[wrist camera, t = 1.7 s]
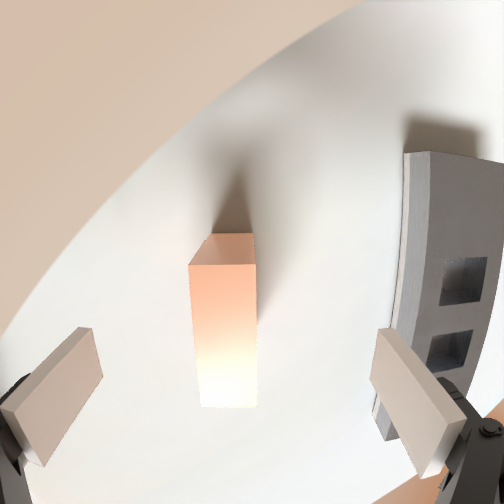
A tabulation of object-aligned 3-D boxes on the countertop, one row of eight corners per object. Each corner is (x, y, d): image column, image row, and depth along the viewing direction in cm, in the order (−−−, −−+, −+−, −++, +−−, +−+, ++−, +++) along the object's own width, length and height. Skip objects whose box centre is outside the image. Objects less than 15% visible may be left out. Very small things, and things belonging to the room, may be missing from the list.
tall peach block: (215, 333, 25) (201, 406, 16) (210, 232, 23) (188, 265, 14) (253, 333, 25) (257, 407, 16) (252, 231, 23) (256, 264, 14)
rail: (372, 414, 27) (384, 441, 23) (403, 153, 22) (430, 150, 18) (438, 401, 27) (454, 423, 23) (478, 164, 22) (507, 164, 18)
